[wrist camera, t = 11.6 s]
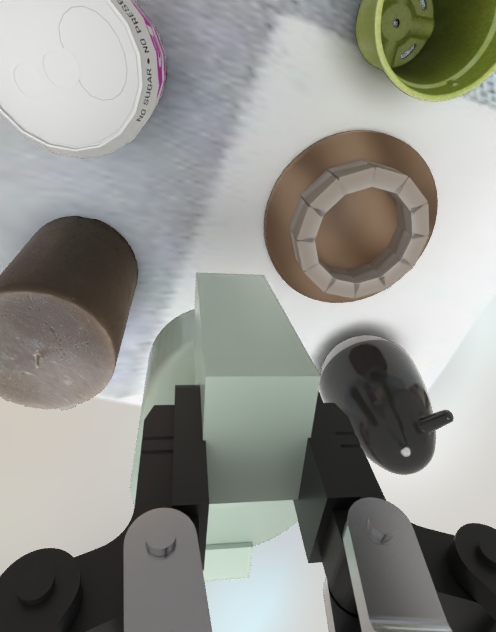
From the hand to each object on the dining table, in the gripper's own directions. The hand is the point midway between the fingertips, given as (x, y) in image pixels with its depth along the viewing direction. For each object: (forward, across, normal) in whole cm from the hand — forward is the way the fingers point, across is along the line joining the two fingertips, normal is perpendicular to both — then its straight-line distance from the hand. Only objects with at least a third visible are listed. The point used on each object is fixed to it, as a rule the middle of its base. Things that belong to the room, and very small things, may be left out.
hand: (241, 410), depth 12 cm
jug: (+9, 0, +5) cm, 10 cm away
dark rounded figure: (+29, -18, +20) cm, 40 cm away
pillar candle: (+29, +11, +10) cm, 33 cm away
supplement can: (+29, +7, -7) cm, 31 cm away
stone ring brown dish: (+29, -14, +4) cm, 32 cm away
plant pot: (+29, -14, -12) cm, 34 cm away
